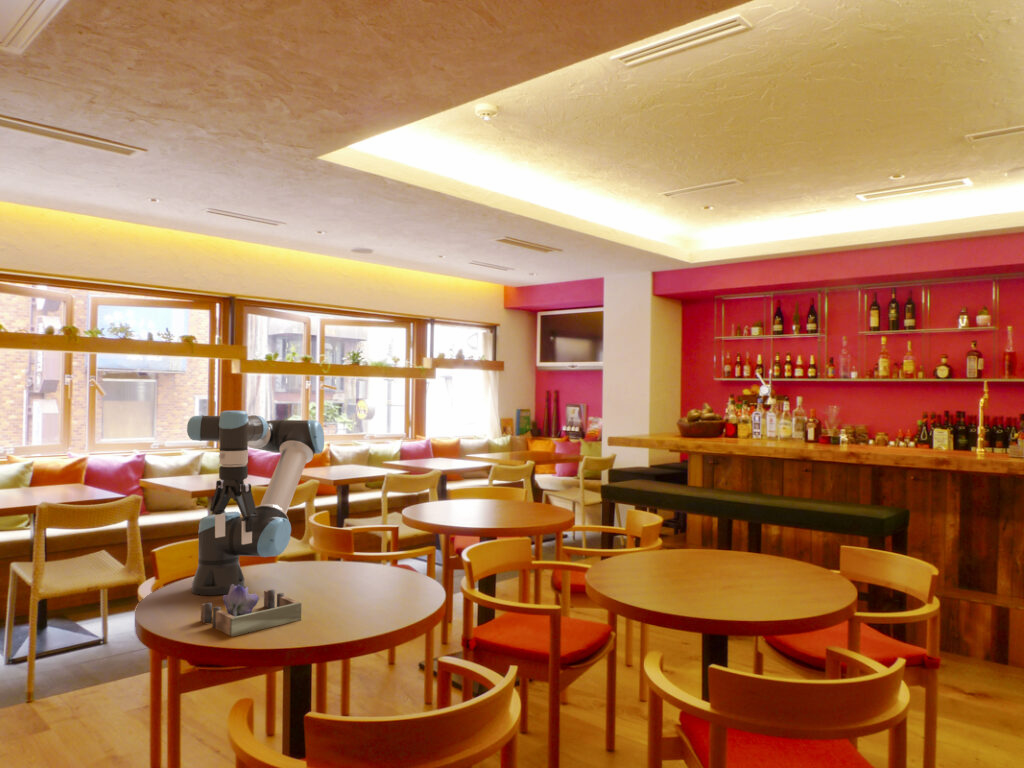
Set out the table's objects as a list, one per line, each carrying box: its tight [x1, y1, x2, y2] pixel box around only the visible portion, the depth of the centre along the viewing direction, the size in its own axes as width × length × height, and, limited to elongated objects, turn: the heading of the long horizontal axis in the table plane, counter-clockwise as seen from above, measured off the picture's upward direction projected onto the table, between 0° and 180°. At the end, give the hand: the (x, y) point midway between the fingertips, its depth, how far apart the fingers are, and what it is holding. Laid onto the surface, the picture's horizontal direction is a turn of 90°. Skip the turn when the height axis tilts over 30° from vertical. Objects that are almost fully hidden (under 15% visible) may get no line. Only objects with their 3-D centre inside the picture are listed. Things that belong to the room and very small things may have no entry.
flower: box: [222, 584, 260, 617], centre depth 191 cm, size 9×9×10 cm
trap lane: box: [200, 589, 302, 638], centre depth 188 cm, size 18×20×5 cm
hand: (233, 540), depth 200 cm, fingers open, 13 cm apart
